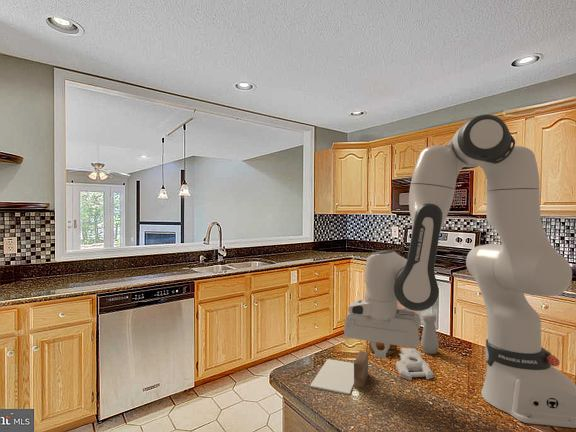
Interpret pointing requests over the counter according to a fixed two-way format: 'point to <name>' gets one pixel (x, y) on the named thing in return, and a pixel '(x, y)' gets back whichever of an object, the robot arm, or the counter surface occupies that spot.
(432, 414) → the counter surface
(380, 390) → the counter surface
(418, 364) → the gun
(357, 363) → the block
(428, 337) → the salt shaker
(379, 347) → the burger
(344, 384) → the mat
